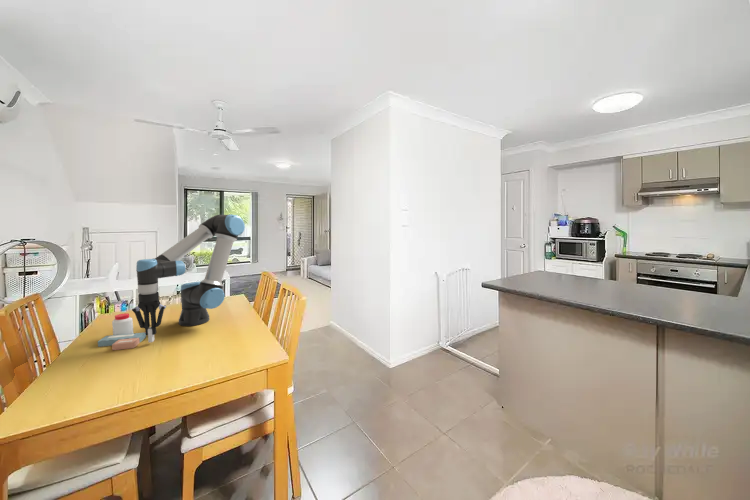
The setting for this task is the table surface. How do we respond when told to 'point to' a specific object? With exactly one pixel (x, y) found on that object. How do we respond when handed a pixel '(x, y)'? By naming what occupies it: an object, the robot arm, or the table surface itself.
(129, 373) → the table surface
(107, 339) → the blue labeled box
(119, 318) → the pill bottle
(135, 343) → the pink labeled box
